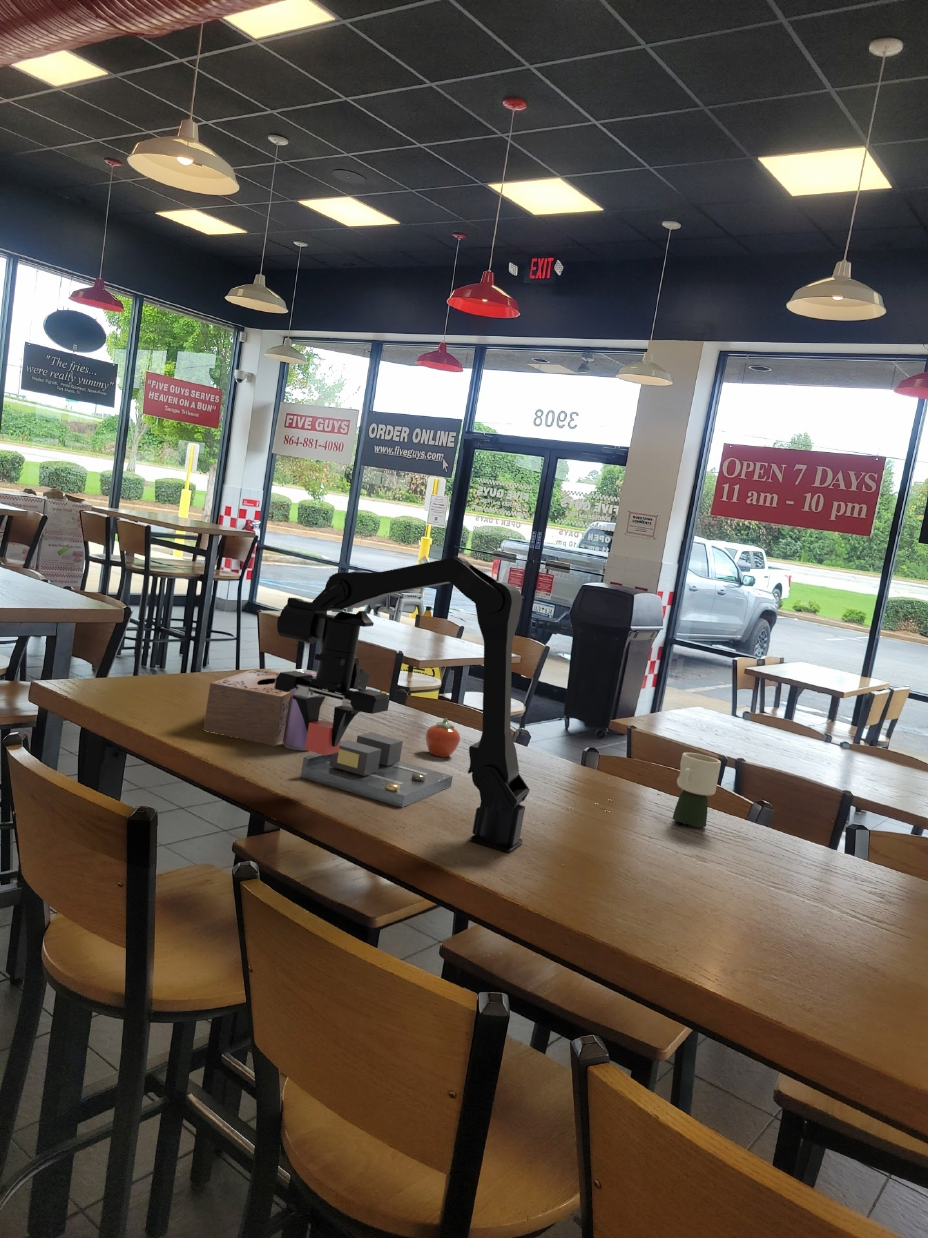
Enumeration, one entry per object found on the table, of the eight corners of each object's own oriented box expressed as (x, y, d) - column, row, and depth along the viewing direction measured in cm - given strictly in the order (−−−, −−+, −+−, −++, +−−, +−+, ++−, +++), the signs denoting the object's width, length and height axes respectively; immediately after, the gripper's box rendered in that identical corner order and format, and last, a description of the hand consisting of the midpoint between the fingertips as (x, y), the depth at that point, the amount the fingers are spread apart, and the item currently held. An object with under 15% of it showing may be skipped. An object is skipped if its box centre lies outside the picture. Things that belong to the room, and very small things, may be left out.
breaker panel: (450, 786, 165) (454, 768, 165) (402, 807, 147) (405, 787, 147) (357, 760, 173) (360, 742, 173) (300, 777, 154) (303, 757, 154)
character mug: (685, 815, 174) (698, 750, 173) (719, 827, 169) (732, 761, 168) (657, 821, 165) (670, 753, 164) (692, 834, 161) (705, 764, 160)
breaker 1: (377, 771, 158) (381, 749, 158) (363, 776, 153) (367, 753, 153) (343, 761, 161) (347, 740, 161) (328, 766, 156) (332, 743, 156)
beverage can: (306, 753, 171) (318, 677, 170) (277, 747, 172) (289, 671, 171) (317, 747, 177) (329, 673, 176) (289, 741, 178) (300, 668, 177)
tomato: (450, 751, 194) (456, 716, 193) (461, 761, 187) (467, 724, 186) (418, 748, 191) (424, 712, 191) (427, 758, 184) (434, 720, 184)
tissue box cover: (248, 712, 200) (255, 668, 199) (310, 724, 199) (317, 680, 198) (202, 732, 174) (210, 682, 174) (273, 747, 173) (281, 696, 172)
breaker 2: (399, 761, 168) (402, 741, 167) (387, 765, 163) (390, 744, 163) (367, 752, 170) (370, 732, 170) (354, 756, 166) (357, 735, 165)
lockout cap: (338, 752, 147) (343, 725, 146) (325, 755, 143) (330, 728, 143) (318, 746, 148) (322, 719, 148) (304, 749, 145) (309, 722, 144)
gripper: (411, 659, 148) (395, 750, 150) (316, 637, 155) (302, 724, 157) (379, 662, 138) (363, 760, 139) (279, 638, 145) (264, 732, 146)
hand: (323, 743), depth 146 cm, fingers closed on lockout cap, 4 cm apart
